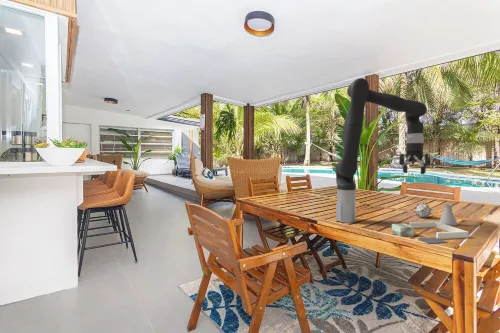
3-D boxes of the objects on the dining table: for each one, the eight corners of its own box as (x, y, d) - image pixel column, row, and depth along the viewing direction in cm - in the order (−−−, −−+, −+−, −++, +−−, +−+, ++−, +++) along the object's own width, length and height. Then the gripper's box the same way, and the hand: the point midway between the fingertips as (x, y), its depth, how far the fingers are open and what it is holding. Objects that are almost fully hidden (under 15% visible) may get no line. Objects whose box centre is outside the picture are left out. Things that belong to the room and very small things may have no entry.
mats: (428, 243, 99) (428, 243, 99) (387, 225, 125) (387, 225, 125) (447, 242, 100) (447, 242, 100) (402, 225, 125) (402, 224, 125)
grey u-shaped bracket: (438, 239, 104) (438, 233, 104) (409, 227, 121) (409, 222, 121) (468, 237, 105) (468, 231, 105) (435, 226, 122) (435, 221, 122)
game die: (427, 224, 138) (438, 212, 132) (411, 219, 139) (421, 206, 133) (424, 213, 145) (434, 202, 138) (408, 208, 146) (418, 196, 140)
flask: (435, 222, 128) (435, 203, 128) (448, 222, 129) (448, 202, 129) (447, 226, 121) (447, 206, 121) (461, 226, 122) (461, 205, 121)
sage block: (400, 236, 109) (400, 227, 108) (391, 232, 115) (391, 223, 114) (413, 236, 109) (413, 227, 109) (404, 232, 115) (404, 223, 115)
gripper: (396, 143, 135) (396, 172, 135) (425, 141, 122) (424, 174, 123) (405, 143, 138) (404, 172, 139) (433, 142, 126) (432, 174, 126)
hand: (413, 173), depth 131 cm, fingers open, 8 cm apart
